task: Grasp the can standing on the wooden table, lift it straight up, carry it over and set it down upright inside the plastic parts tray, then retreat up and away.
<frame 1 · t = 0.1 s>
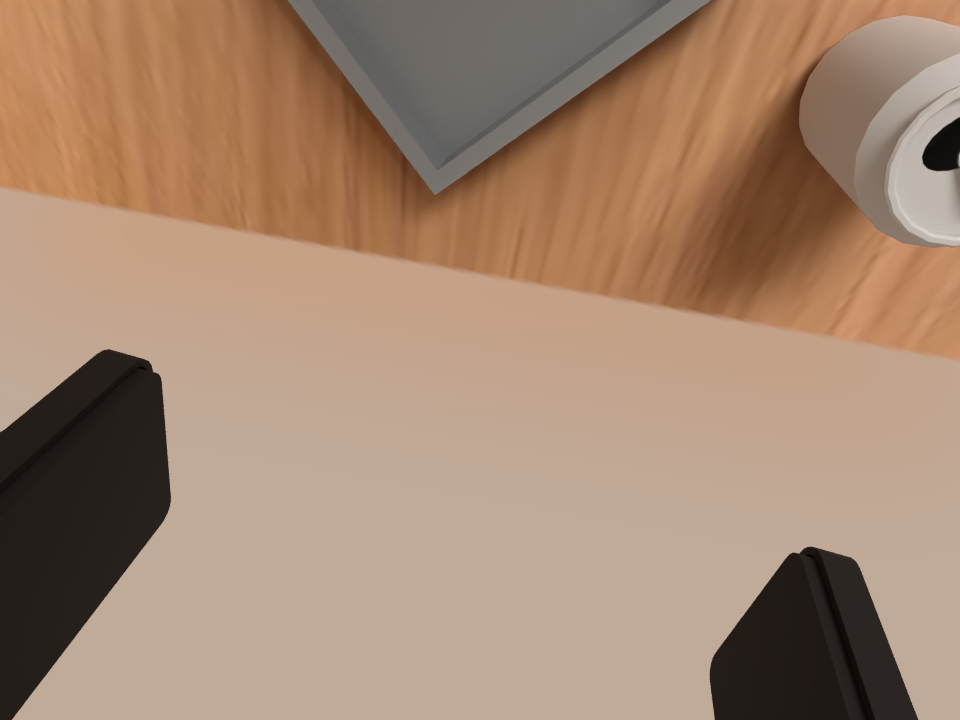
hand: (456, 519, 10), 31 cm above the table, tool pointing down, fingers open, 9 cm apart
can: (873, 96, 33), on the table
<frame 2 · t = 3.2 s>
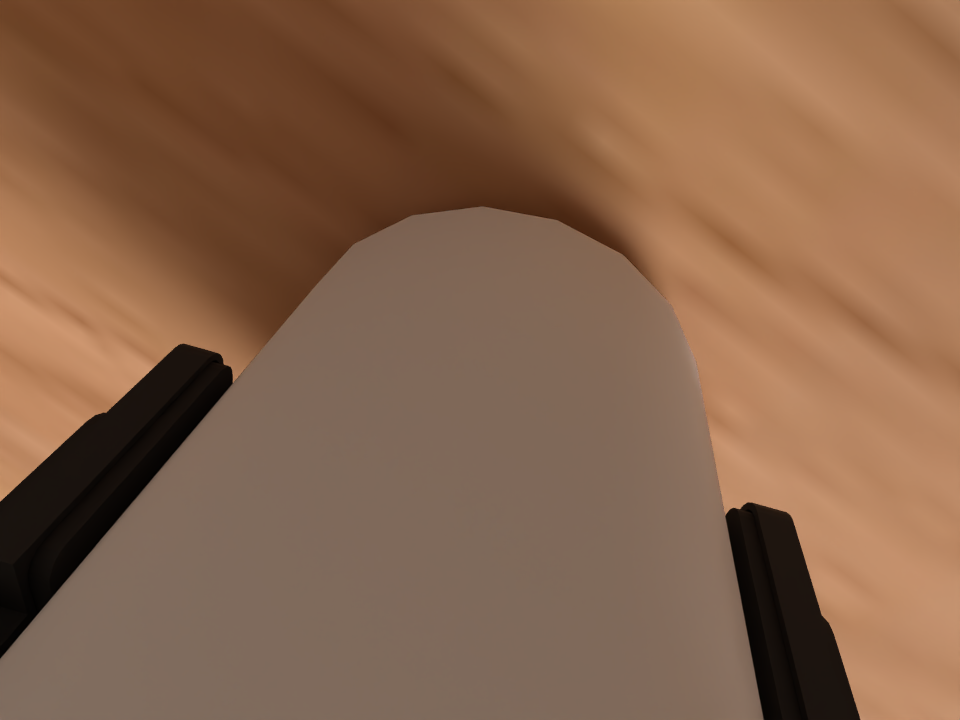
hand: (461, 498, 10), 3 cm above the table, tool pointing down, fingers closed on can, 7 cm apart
can: (497, 368, 13), on the table, touching gripper
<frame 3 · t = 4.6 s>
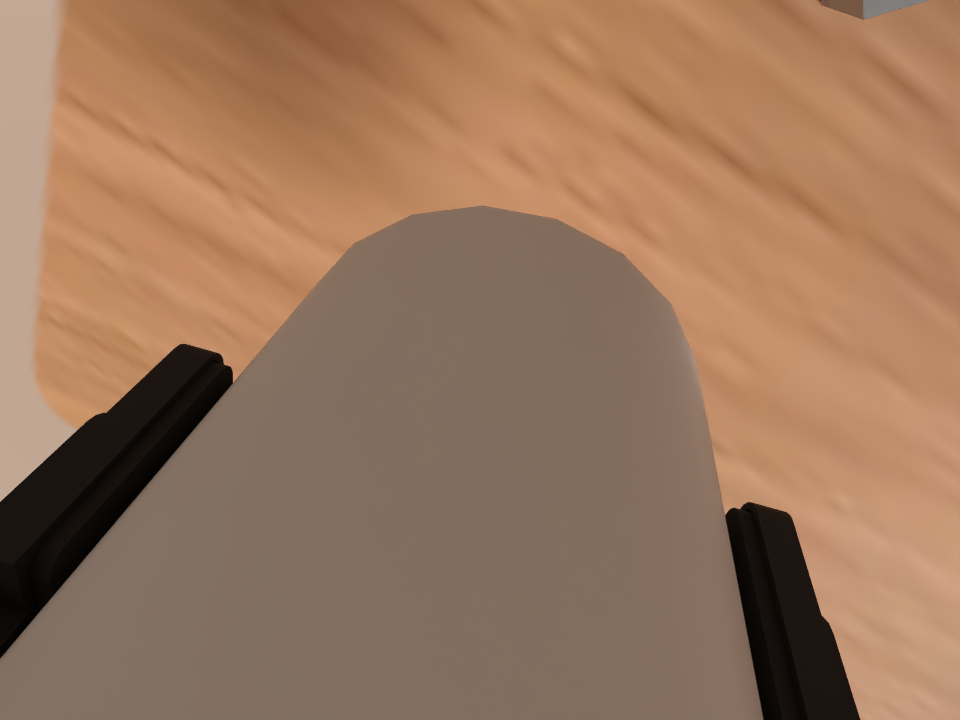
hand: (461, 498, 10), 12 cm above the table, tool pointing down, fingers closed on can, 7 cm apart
can: (497, 368, 13), point 8 cm above the table, touching gripper
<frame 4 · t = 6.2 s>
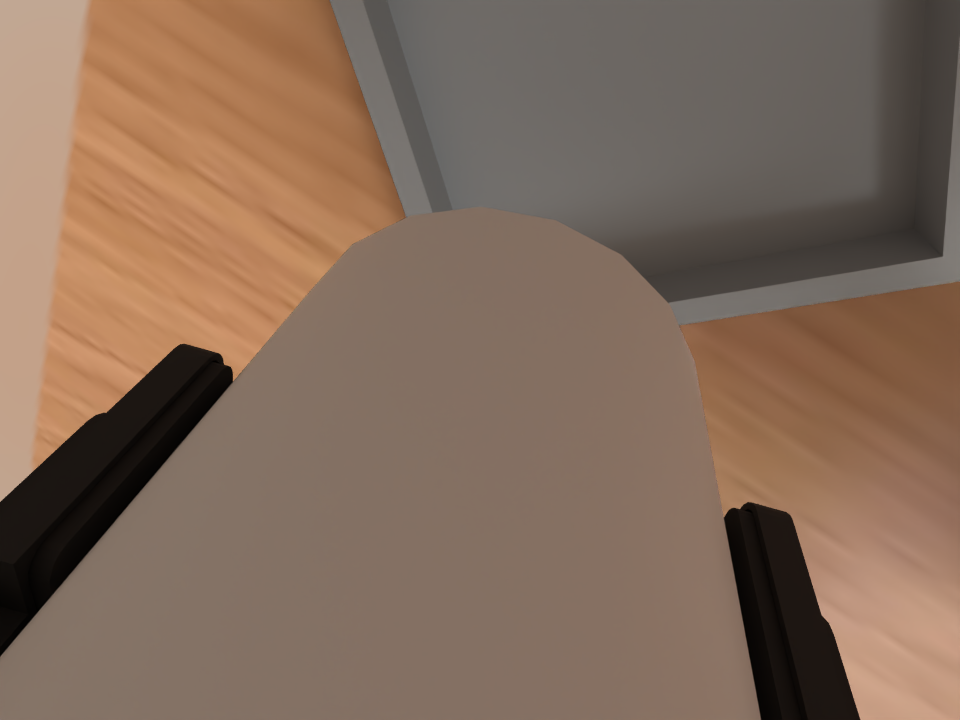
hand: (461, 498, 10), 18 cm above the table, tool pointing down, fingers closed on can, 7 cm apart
can: (496, 369, 13), point 14 cm above the table, touching gripper
parts tray: (647, 49, 22), on the table
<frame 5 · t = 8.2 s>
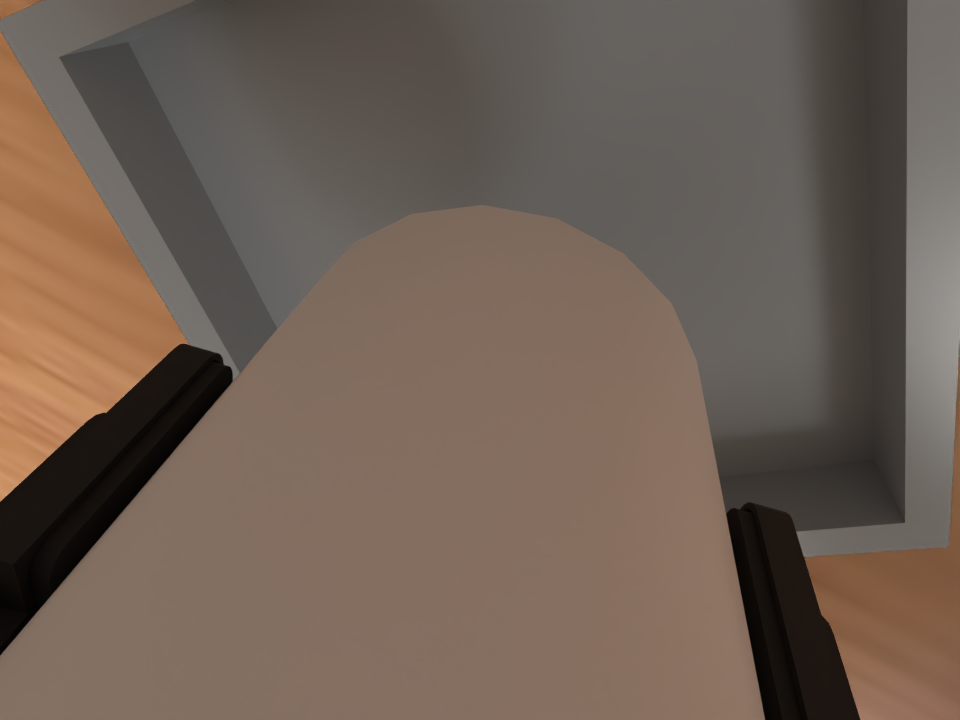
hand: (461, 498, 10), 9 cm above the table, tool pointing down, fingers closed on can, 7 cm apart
can: (497, 367, 13), point 6 cm above the table, touching gripper
parts tray: (532, 258, 18), on the table
when the fingers open (5 cm above the table, at t = 9.6 s): can drops 1 cm, resting on parts tray.
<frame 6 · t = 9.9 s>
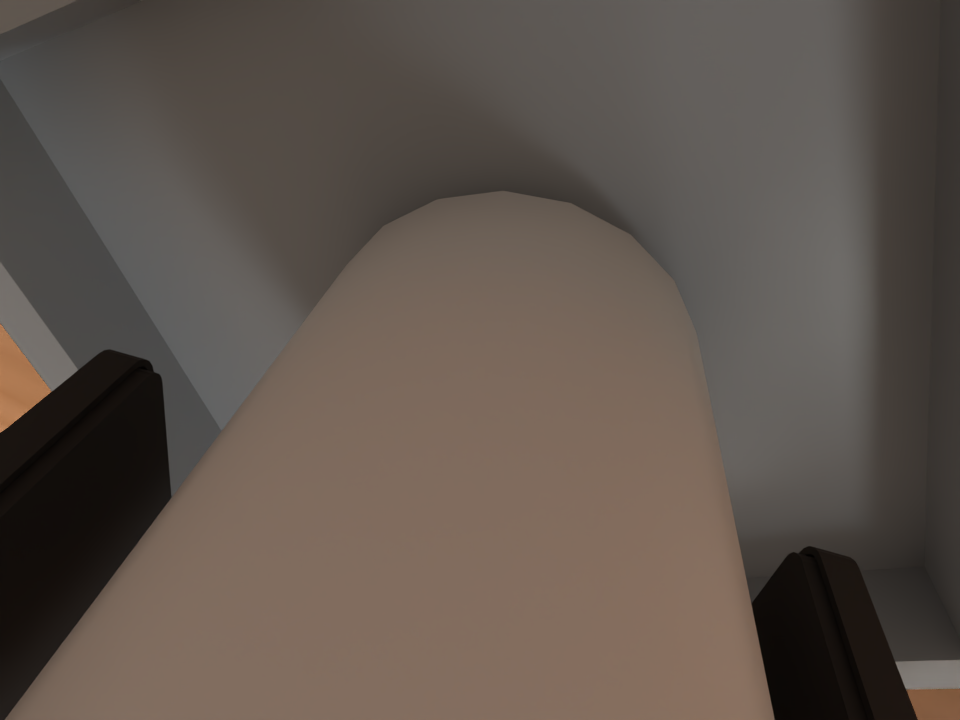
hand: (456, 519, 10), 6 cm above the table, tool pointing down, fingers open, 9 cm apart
can: (511, 342, 14), resting on parts tray
parts tray: (508, 326, 15), on the table
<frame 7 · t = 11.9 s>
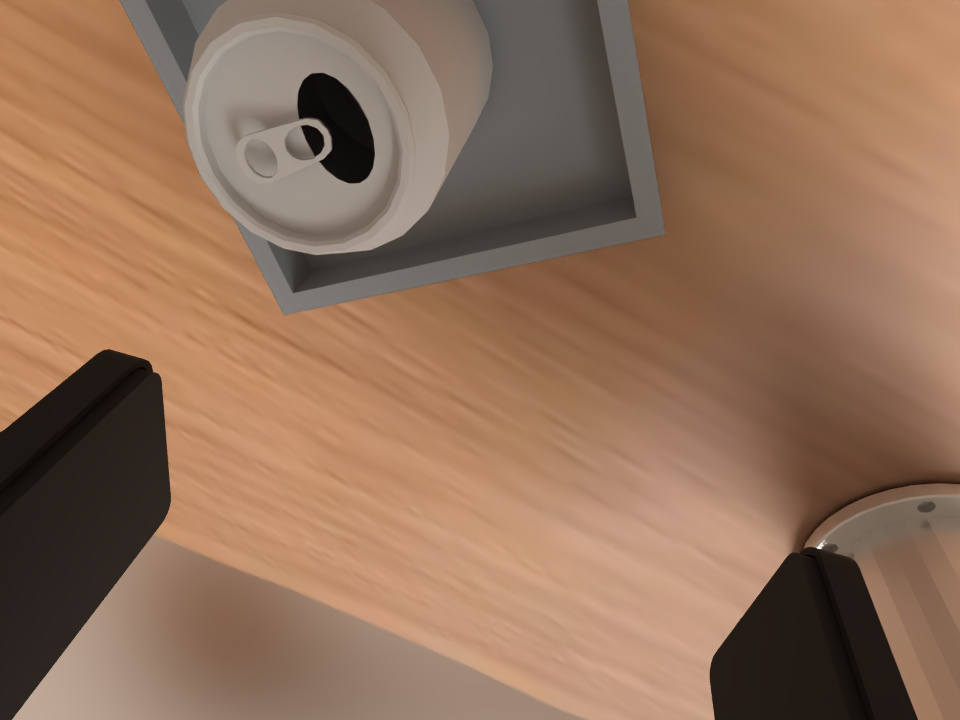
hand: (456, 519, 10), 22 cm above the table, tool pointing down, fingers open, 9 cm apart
can: (405, 59, 27), resting on parts tray
parts tray: (404, 54, 27), on the table
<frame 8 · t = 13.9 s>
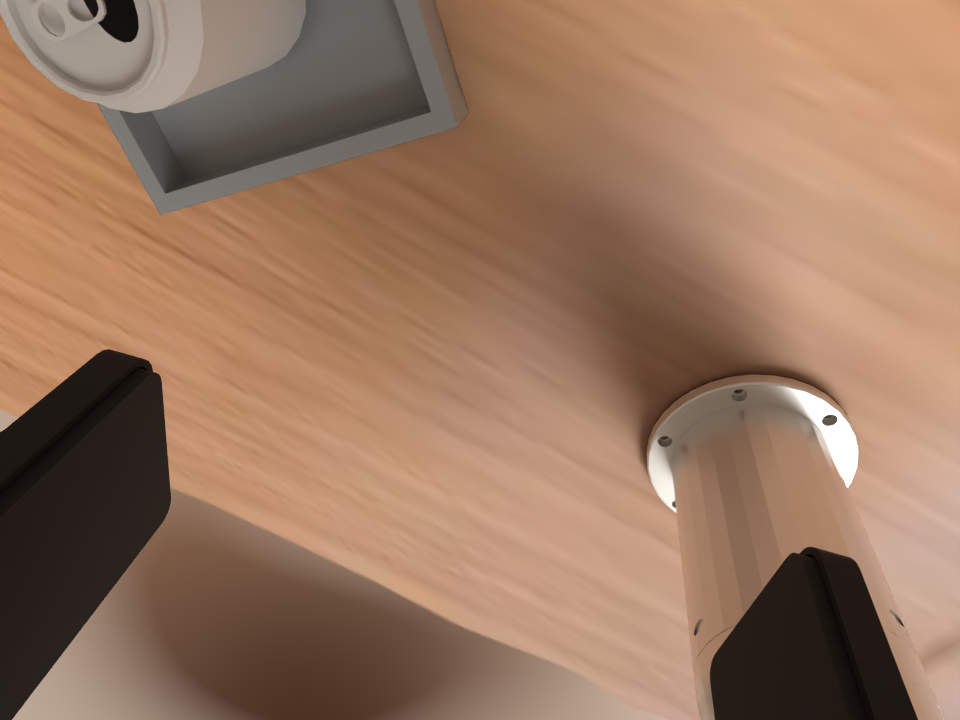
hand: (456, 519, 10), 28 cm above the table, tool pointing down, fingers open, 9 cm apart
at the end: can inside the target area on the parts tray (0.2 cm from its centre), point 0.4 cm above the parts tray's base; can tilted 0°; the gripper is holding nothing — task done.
